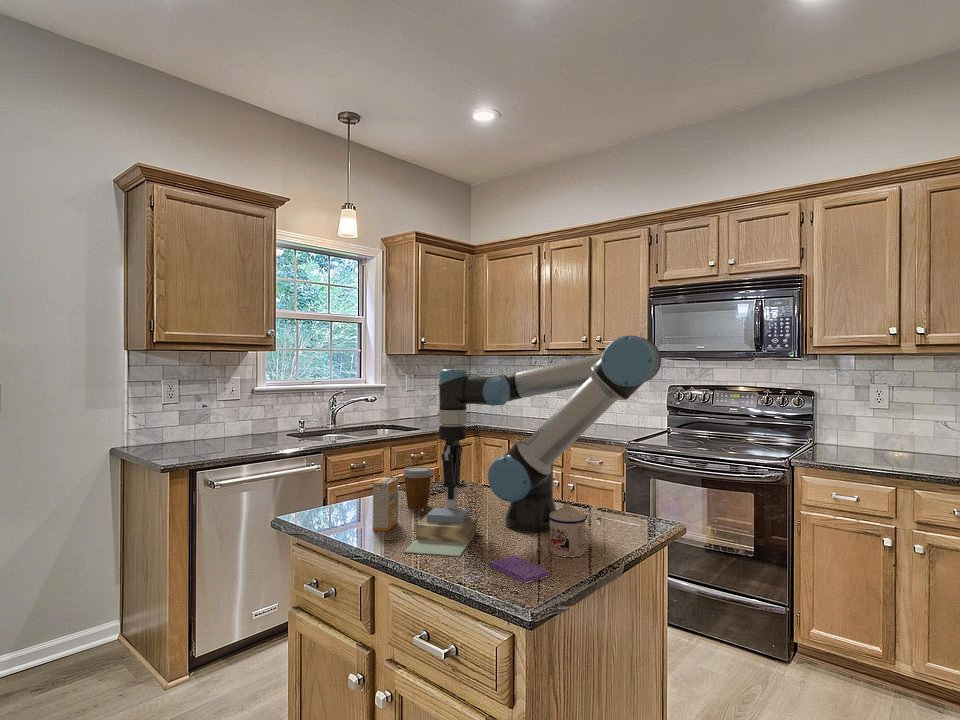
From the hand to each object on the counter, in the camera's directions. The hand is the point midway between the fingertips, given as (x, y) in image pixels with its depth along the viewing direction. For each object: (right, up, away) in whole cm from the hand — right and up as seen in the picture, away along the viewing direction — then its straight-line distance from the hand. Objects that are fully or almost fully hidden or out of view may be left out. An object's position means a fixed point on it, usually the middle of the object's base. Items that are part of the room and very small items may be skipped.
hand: (451, 510), depth 159 cm
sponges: (+16, -6, -31) cm, 36 cm away
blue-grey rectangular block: (-1, -1, -5) cm, 5 cm away
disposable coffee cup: (-12, -5, +25) cm, 28 cm away
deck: (-1, -5, -6) cm, 8 cm away
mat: (-3, -5, -16) cm, 17 cm away
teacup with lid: (+30, -6, -19) cm, 36 cm away
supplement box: (-19, -6, +3) cm, 20 cm away
